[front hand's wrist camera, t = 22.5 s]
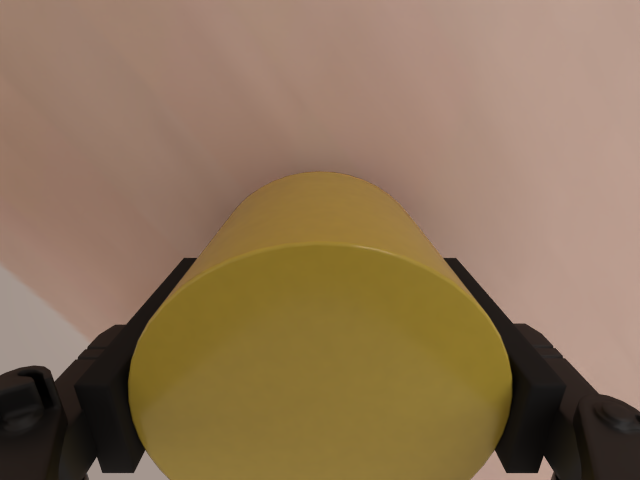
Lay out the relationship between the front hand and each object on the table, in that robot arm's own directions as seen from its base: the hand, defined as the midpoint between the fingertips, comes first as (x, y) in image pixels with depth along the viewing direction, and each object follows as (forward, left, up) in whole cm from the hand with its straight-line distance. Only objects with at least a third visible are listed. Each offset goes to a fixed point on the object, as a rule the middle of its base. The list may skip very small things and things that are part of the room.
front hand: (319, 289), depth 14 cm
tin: (0, 0, -1) cm, 1 cm away
